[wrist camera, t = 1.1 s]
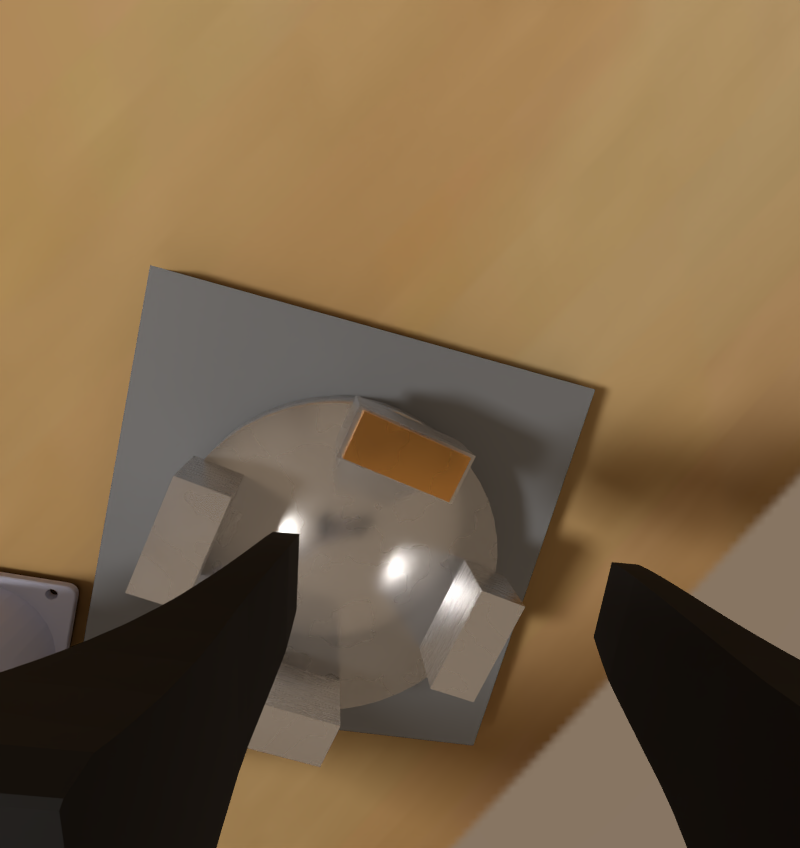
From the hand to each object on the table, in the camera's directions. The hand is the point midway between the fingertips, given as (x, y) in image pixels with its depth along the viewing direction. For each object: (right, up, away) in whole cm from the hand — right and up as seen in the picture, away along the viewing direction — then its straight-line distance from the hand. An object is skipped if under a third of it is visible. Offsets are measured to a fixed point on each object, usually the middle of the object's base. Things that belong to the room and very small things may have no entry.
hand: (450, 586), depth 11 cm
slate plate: (-4, -2, +13) cm, 14 cm away
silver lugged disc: (-4, -2, +11) cm, 12 cm away
